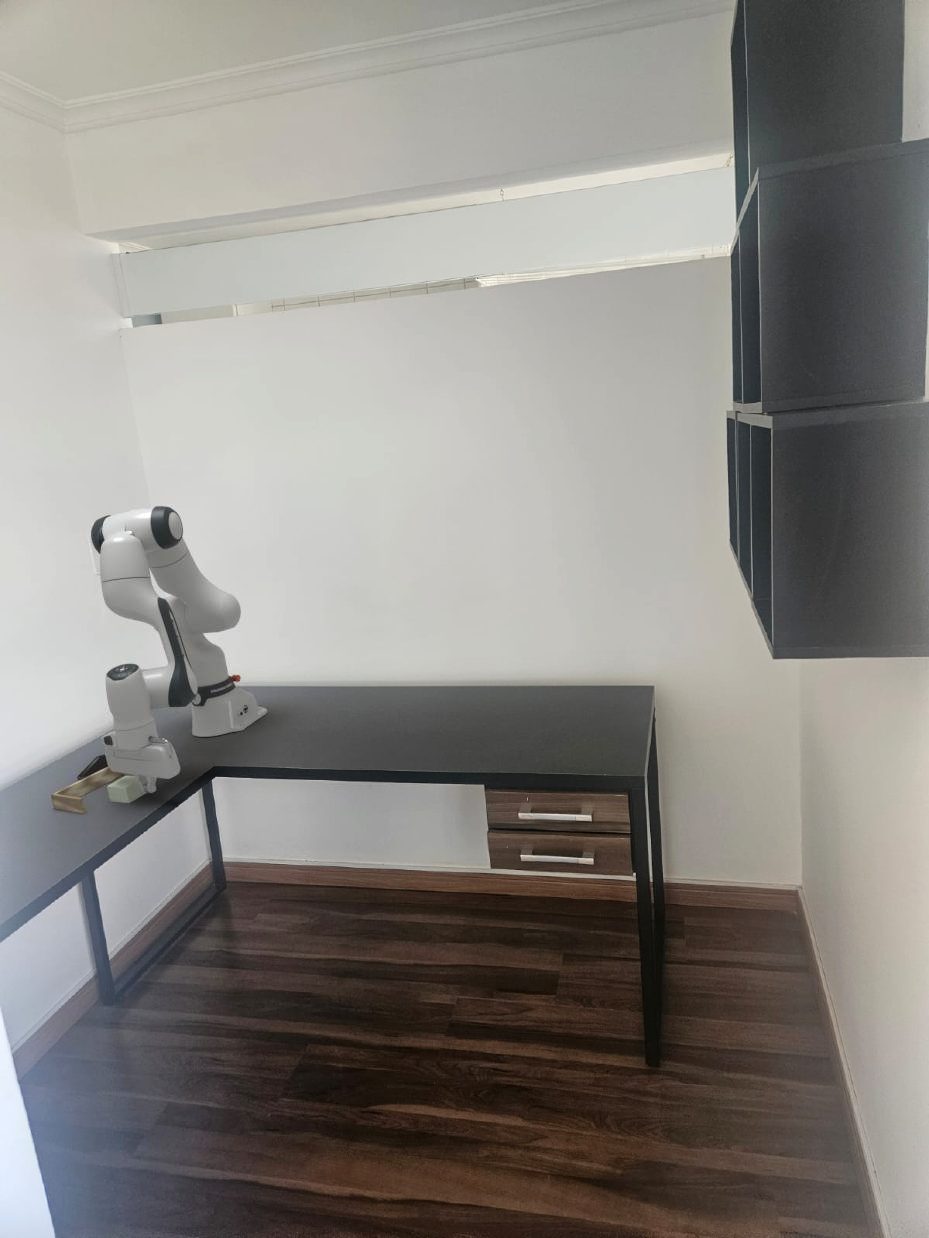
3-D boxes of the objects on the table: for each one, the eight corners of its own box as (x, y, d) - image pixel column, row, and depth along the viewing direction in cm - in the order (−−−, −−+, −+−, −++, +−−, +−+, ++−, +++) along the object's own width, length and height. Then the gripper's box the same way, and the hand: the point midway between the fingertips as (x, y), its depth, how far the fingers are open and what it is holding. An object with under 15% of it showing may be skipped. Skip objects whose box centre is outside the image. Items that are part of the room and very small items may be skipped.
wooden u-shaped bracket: (122, 773, 219) (119, 760, 218) (151, 777, 214) (148, 764, 213) (54, 808, 202) (50, 794, 201) (83, 813, 197) (79, 799, 196)
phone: (75, 778, 218) (97, 755, 233) (76, 782, 218) (98, 759, 233) (106, 773, 218) (126, 751, 233) (107, 778, 218) (127, 755, 233)
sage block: (129, 790, 208) (126, 775, 207) (148, 792, 205) (144, 777, 204) (110, 801, 203) (106, 786, 202) (129, 803, 200) (125, 787, 199)
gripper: (180, 733, 194) (191, 789, 198) (117, 727, 204) (130, 781, 207) (158, 744, 189) (171, 802, 192) (95, 737, 199) (108, 792, 202)
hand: (149, 791), depth 200 cm, fingers closed
